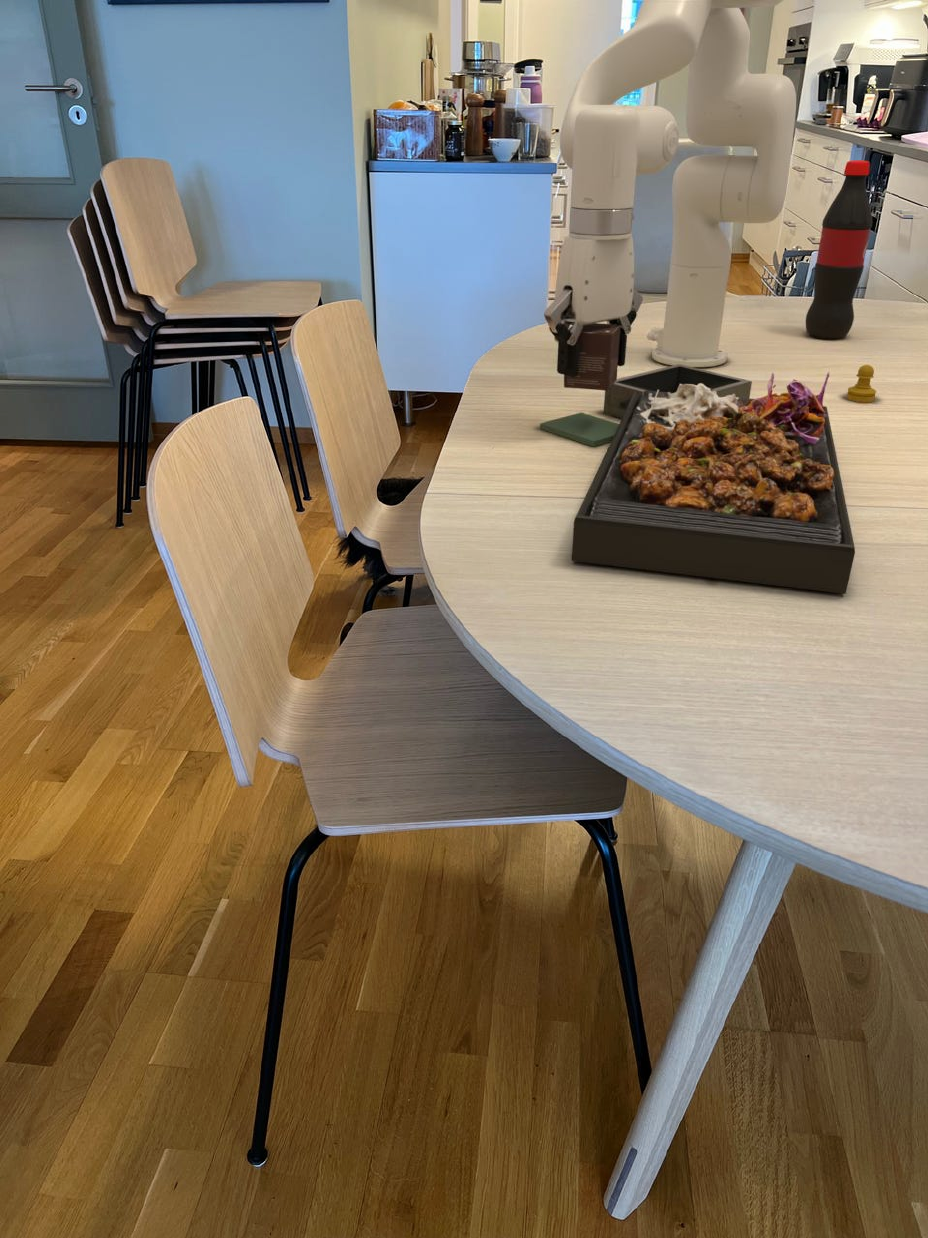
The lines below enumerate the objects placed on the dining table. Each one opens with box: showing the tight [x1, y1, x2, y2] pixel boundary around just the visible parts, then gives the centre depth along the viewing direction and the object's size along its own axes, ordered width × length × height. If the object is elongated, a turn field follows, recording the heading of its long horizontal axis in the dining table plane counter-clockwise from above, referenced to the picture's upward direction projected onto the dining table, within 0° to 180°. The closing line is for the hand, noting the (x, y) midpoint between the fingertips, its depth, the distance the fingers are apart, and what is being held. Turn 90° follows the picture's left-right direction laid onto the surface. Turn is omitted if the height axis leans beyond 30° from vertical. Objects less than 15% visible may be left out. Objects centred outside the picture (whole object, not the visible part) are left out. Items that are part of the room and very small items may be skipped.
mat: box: [539, 411, 620, 448], centre depth 123 cm, size 10×8×1 cm
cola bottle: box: [805, 159, 873, 340], centre depth 168 cm, size 8×8×30 cm
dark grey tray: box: [602, 364, 753, 420], centre depth 130 cm, size 13×16×4 cm
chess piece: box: [846, 364, 877, 403], centre depth 136 cm, size 4×4×5 cm
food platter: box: [571, 371, 856, 595], centre depth 101 cm, size 45×25×10 cm, turn 164°
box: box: [563, 322, 620, 392], centre depth 119 cm, size 6×6×7 cm
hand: (591, 368), depth 119 cm, fingers closed on box, 8 cm apart
